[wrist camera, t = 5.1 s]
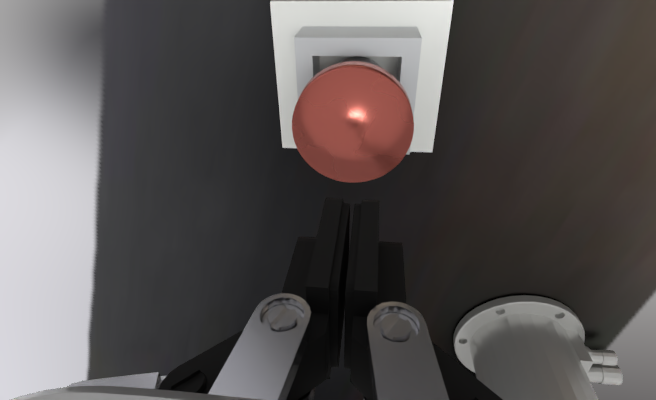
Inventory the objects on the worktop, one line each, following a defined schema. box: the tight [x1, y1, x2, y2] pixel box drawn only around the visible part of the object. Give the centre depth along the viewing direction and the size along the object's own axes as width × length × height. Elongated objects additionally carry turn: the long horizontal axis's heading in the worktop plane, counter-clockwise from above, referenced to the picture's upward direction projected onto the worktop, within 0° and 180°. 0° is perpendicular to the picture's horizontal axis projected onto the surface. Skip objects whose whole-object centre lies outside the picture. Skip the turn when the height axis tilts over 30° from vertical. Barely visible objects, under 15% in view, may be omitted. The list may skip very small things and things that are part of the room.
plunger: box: [292, 56, 414, 183], centre depth 21 cm, size 6×6×6 cm
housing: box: [270, 0, 454, 154], centre depth 25 cm, size 10×9×8 cm
